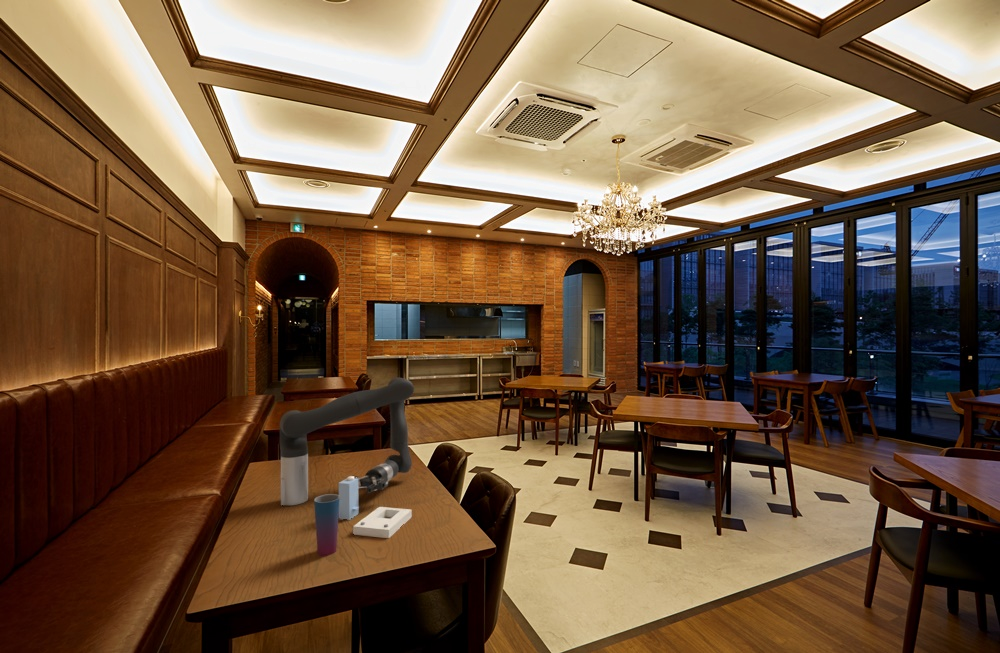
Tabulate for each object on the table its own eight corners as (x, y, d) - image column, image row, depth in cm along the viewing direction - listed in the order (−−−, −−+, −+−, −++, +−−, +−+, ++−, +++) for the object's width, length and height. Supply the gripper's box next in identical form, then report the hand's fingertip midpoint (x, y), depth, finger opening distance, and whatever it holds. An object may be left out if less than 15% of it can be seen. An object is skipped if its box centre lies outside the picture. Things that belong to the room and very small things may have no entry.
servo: (353, 520, 148) (352, 481, 148) (335, 518, 150) (335, 480, 150) (361, 513, 153) (361, 476, 154) (344, 512, 155) (344, 475, 155)
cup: (324, 559, 122) (324, 504, 123) (308, 553, 126) (308, 499, 126) (344, 549, 128) (344, 496, 128) (329, 543, 132) (329, 492, 132)
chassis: (388, 538, 135) (388, 528, 135) (353, 534, 137) (353, 524, 138) (411, 517, 150) (411, 508, 150) (379, 514, 153) (379, 505, 153)
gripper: (362, 464, 174) (338, 477, 158) (396, 466, 171) (375, 480, 155) (362, 484, 174) (338, 499, 158) (396, 486, 170) (375, 502, 155)
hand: (356, 489), depth 156 cm, fingers open, 8 cm apart
